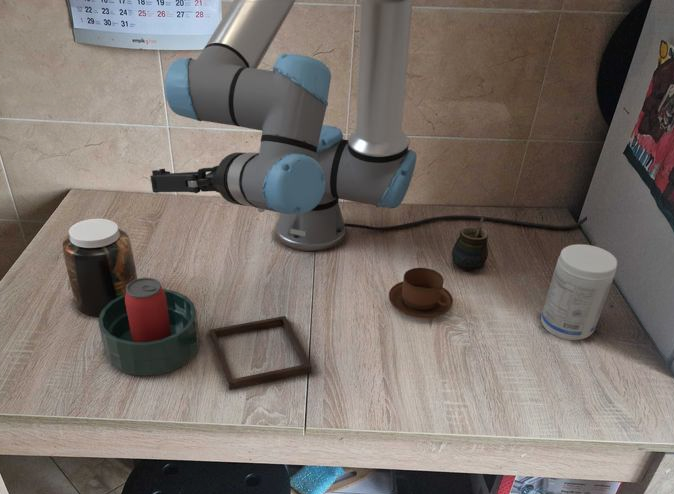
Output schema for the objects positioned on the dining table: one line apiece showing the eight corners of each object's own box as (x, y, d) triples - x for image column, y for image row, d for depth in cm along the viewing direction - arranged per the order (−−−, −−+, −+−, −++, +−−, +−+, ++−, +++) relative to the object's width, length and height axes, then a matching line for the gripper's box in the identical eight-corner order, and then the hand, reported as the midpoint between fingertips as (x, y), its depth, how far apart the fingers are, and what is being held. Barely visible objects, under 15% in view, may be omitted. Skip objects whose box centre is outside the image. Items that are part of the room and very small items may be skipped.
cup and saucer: (458, 297, 126) (463, 270, 122) (441, 331, 117) (446, 303, 113) (399, 282, 129) (402, 255, 125) (379, 313, 121) (382, 286, 117)
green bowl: (190, 314, 120) (186, 282, 115) (207, 367, 108) (204, 334, 104) (102, 329, 115) (94, 297, 111) (110, 386, 104) (103, 352, 99)
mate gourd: (446, 271, 133) (454, 227, 127) (453, 253, 138) (461, 211, 132) (481, 279, 131) (491, 235, 125) (487, 261, 136) (497, 218, 130)
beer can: (164, 359, 108) (155, 300, 101) (127, 354, 109) (115, 295, 102) (178, 336, 113) (170, 278, 106) (142, 331, 114) (132, 273, 107)
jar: (83, 324, 116) (65, 252, 107) (70, 292, 124) (52, 221, 115) (147, 308, 121) (136, 237, 111) (130, 277, 129) (118, 208, 119)
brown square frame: (285, 322, 118) (285, 315, 117) (311, 372, 107) (311, 366, 106) (209, 336, 115) (209, 329, 114) (229, 389, 104) (228, 383, 103)
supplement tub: (567, 306, 124) (590, 238, 115) (605, 334, 117) (632, 264, 108) (528, 318, 121) (548, 249, 111) (564, 347, 114) (589, 277, 105)
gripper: (171, 219, 89) (126, 206, 106) (323, 193, 101) (259, 185, 118) (163, 163, 87) (117, 159, 104) (319, 143, 98) (255, 142, 115)
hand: (193, 173), depth 111 cm, fingers open, 13 cm apart
